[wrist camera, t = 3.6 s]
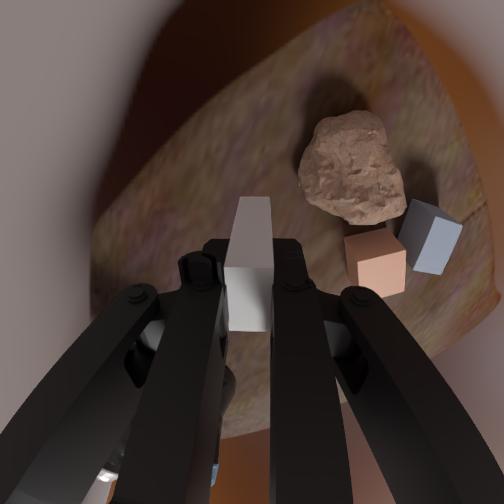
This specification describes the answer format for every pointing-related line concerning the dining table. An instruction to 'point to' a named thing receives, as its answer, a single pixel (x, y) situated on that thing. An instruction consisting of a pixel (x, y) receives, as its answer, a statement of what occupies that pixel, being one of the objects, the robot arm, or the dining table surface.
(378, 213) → the stone
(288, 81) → the dining table surface
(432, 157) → the dining table surface
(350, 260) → the terracotta block
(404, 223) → the slate block
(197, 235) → the dining table surface
